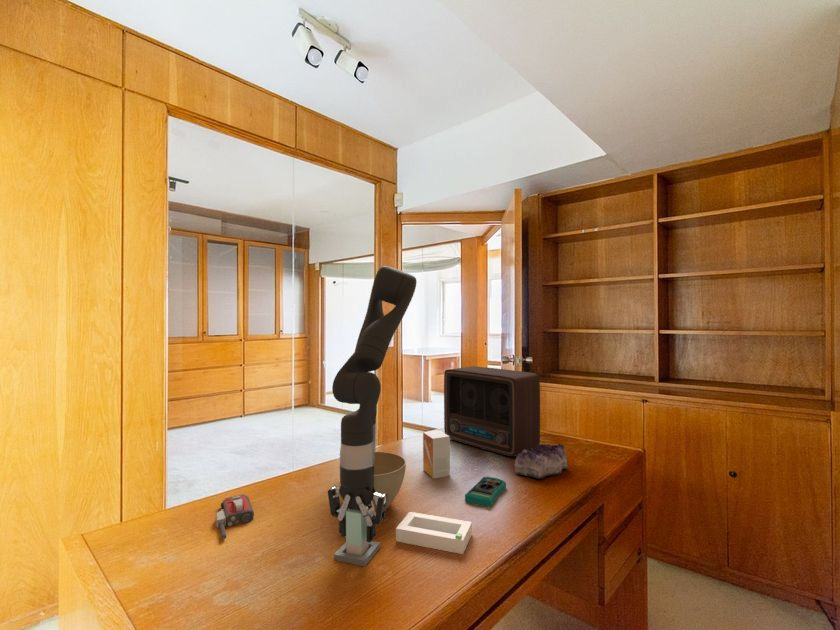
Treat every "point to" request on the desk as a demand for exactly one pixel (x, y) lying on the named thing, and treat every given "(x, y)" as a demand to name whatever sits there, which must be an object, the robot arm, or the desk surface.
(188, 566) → the desk surface
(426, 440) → the small box
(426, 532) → the port panel
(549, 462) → the geode
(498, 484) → the digital multimeter
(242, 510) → the walkie-talkie
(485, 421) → the radio
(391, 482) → the flower pot
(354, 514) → the plug
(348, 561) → the grey square ring
